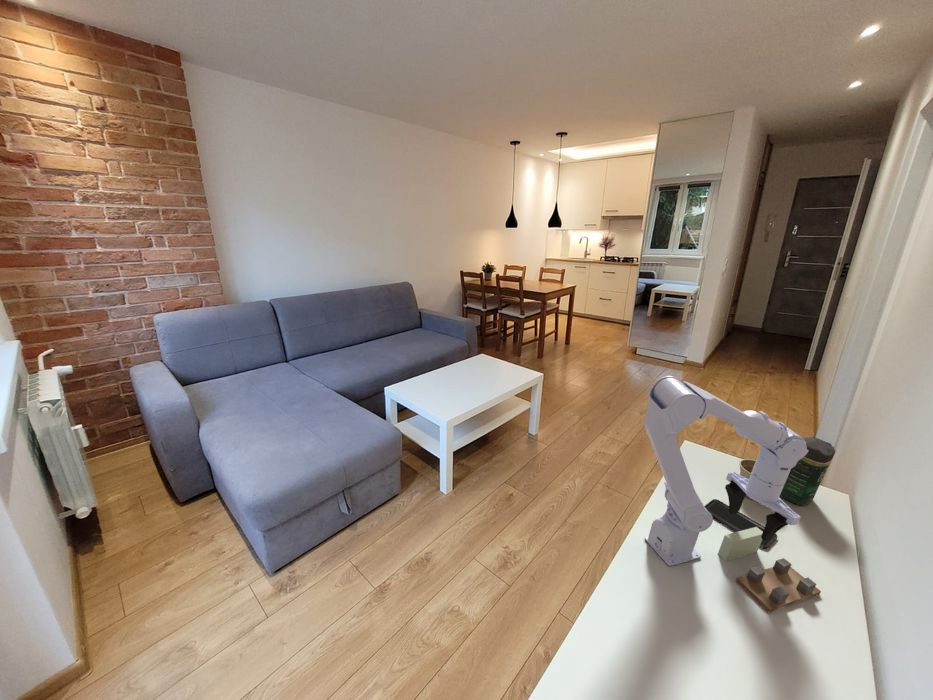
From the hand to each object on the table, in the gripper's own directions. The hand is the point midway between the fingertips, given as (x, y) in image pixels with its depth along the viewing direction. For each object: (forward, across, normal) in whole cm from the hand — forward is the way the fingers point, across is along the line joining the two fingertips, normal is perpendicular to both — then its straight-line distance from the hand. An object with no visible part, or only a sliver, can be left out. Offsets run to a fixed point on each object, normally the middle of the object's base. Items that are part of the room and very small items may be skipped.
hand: (748, 525), depth 84 cm
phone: (+9, +7, -9) cm, 15 cm away
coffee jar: (+9, +11, -36) cm, 39 cm away
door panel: (+9, 0, 0) cm, 9 cm away
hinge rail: (+9, -9, 0) cm, 12 cm away
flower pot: (+9, +15, -24) cm, 30 cm away
